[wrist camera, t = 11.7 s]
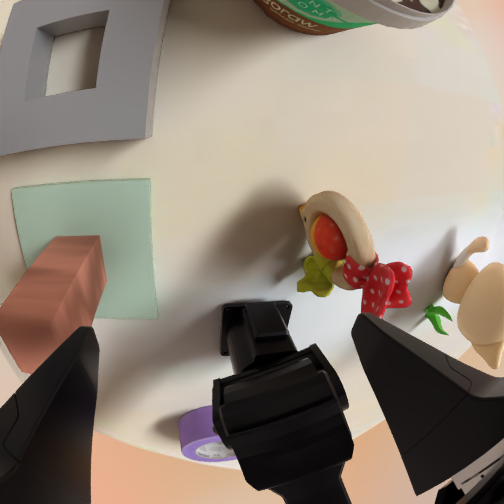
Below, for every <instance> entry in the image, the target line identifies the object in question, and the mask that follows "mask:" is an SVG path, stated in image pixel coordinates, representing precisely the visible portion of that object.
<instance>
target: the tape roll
mask: <svg viewBox="0 0 504 504" xmlns="http://www.w3.org/2000/svg"><path fill="white" fill-rule="evenodd" d="M212 427H213V421H212V406H206V407H202V408H198V409H195V410H193V411H190V412H188V413H187V414H185V415H184V416H182V417H181V419H180V420H179V433H180V443H181V452H182V454H183V455H184V456H185V457H187V458H189V459H192V460H197V461H204V462H221V461H229V460H235V459H237V458H236V455H235V453H234V451H233V450H229V449H227V448H226V447H225V445H224V444H223V442H222V440H221V439H220V437H219V436H218V435H216V434H215V433H214V432H213V429H212Z"/></svg>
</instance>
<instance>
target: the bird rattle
mask: <svg viewBox="0 0 504 504" xmlns="http://www.w3.org/2000/svg"><path fill="white" fill-rule="evenodd" d="M299 213H300V215H301V218H302V220H303V223H304V228H305V233H306V237H307V240H308V243H309V246H310V248H311V251H312V253H313V256H308V257H307V258H306V259H305V261H304V263H303V266H304V270H305V273H306V275H305V276H304V277H303V278H302V279H301V280H300V281H298V282H297V292H307V291H312V292H313V293H314V294H315V295H316V296H318V297H326V296H328V295H329V294H330V293H331V291H332V290H333V288H334V284H335V285H336V286H338V287H340V288H342V289H345V290H355V289H361V288H363V294H362V302H361V313H366V312H369V313H371V314H373V315H375V316H377V317H379V318H381V319H382V317H383V315H384V312H385V309H386V308H406V307H409V306H410V305H411V304H412V299H411V296H410V293H409V290H408V288H407V287H408V283H409V281H410V280H411V278H412V269H411V267H410V266H408V265H406V264H404V263H402V262H393V263H389V264H386V265H385V264H382V263H378V261H379V258H378V255H377V253H376V252H375V249H374V244H373V240H372V237H371V234H370V232H369V229H368V227H367V225H366V223H365V221H364V219H363V217H362V215H361V214H360V212H359V211H358V210H357V208H356V207H355V206H354V205H353V204H352V203H351V202H350V201H349V200H348V199H347V198H346V197H344V196H343V195H341V194H339V193H337V192H334V191H323V192H321V193H318V194H315V195H313V196H312V197H310V198H309V200H308V201H307V203H306V204H304V205H302V206H301V207H300V209H299Z"/></svg>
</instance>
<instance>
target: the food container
mask: <svg viewBox="0 0 504 504" xmlns="http://www.w3.org/2000/svg"><path fill="white" fill-rule="evenodd" d="M253 1H254V2H255V3H256V5H257V6H258V7H259V8H260V9H261V10H262V11H263V12H264V13H265V14H266V15H267V16H268V17H270V18H271V19H273V20H274V21H276V22H277V23H279V24H280V25H282V26H284V27H286V28H288V29H291V30H294V31H297V32H300V33H304V34H310V35H328V34H334V33H338V32H341V31H345V30H349V29H354V28H358V27H362V26H367V25H372V24H377V23H378V24H382V25H385V26H388V27H394V28H399V29H413V28H418V27H422V26H424V25H426V24H428V23H430V22H432V21H434V20H436V19H438V18H440V17H442V16H443V15H444V14H445V13H446V12H448V10H449V9H450V8H451V7H452V6H453V4H454V1H455V0H253Z"/></svg>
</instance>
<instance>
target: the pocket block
mask: <svg viewBox="0 0 504 504" xmlns="http://www.w3.org/2000/svg"><path fill="white" fill-rule="evenodd" d="M170 1H171V0H21V1H19V2H17V3H15V4H14V5H13V7H12V10H11V13H10V16H9V19H8V23H7V26H6V29H5V33H4V37H3V41H2V45H1V49H0V156H3V155H7V154H12V153H17V152H22V151H27V150H33V149H39V148H45V147H52V146H59V145H67V144H76V143H85V142H96V141H109V140H127V139H146V138H148V137H151V136H152V127H153V113H154V101H155V91H156V82H157V74H158V67H159V60H160V53H161V47H162V41H163V35H164V29H165V24H166V19H167V14H168V10H169V5H170ZM100 26H106V28H105V32H104V37H103V42H102V48H101V53H100V59H99V66H98V73H97V81H96V88H92V89H84V90H78V91H72V92H66V93H61V94H56V95H51V96H46V97H45V93H46V84H47V76H48V69H49V63H50V57H51V51H52V46H53V42H54V37H55V36H58V35H62V34H66V33H70V32H75V31H79V30H84V29H89V28H94V27H100Z"/></svg>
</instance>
